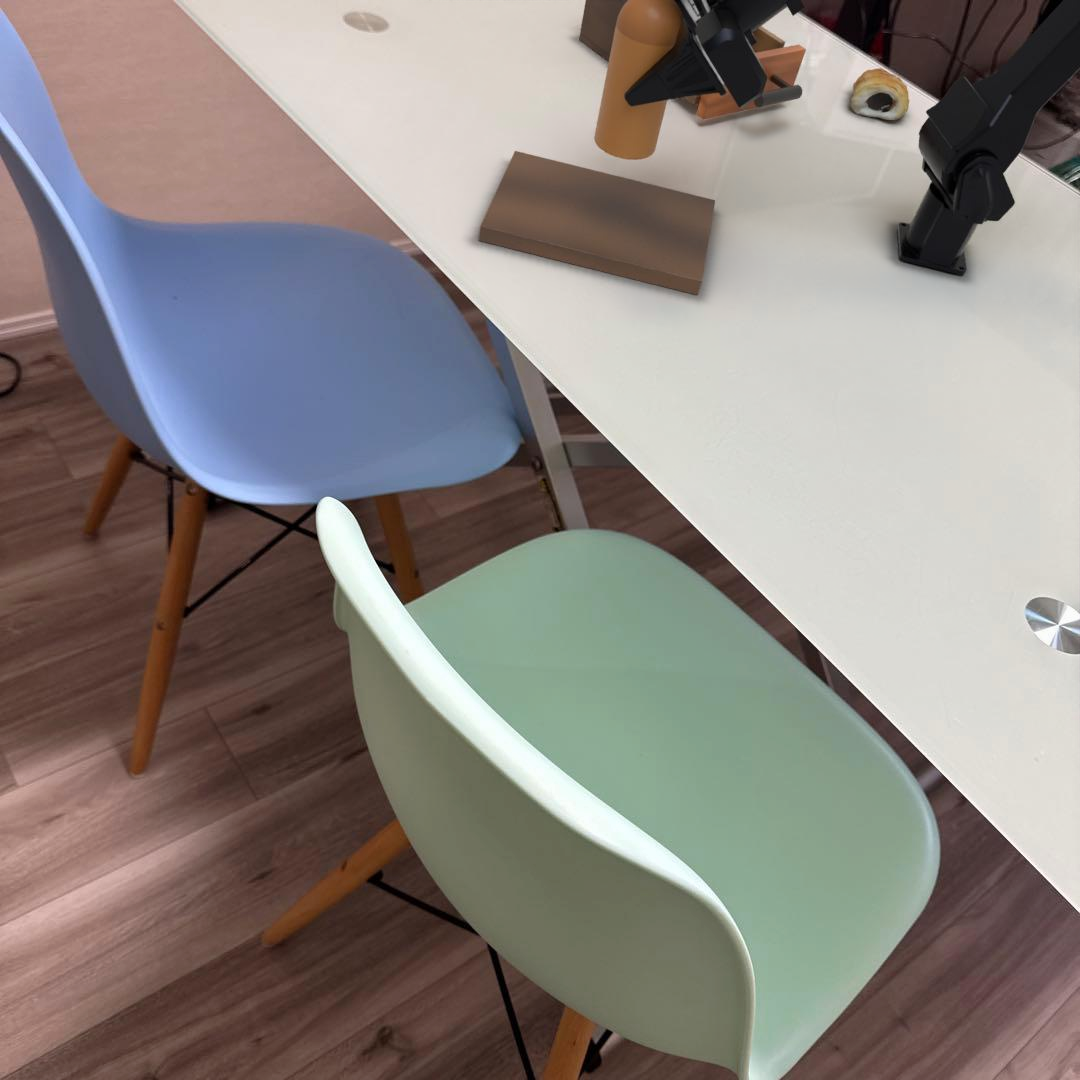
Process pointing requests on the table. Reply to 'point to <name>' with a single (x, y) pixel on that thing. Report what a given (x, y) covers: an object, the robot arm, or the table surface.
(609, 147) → the dome-topped orange cylinder
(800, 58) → the drawer
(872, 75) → the pastry
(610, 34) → the cabinet
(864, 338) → the table surface
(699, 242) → the board
